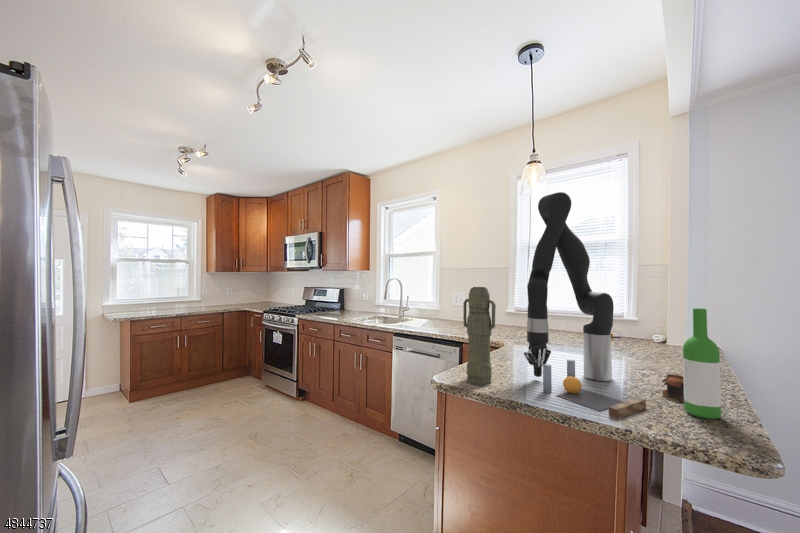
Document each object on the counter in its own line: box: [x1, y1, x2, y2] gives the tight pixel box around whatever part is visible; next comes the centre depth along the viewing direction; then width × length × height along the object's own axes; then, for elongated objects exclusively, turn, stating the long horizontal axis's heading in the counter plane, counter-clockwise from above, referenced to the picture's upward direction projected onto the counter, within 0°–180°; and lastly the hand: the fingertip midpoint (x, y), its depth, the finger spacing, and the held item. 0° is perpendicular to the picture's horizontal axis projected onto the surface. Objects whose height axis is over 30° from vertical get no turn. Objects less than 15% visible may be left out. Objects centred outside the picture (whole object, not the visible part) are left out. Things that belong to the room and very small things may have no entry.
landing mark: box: [556, 388, 624, 412], centre depth 104 cm, size 14×14×1 cm
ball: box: [562, 376, 582, 394], centre depth 109 cm, size 6×6×6 cm
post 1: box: [542, 363, 552, 394], centre depth 111 cm, size 3×3×9 cm
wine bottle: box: [682, 308, 722, 420], centre depth 93 cm, size 8×8×30 cm
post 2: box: [566, 359, 576, 378], centre depth 117 cm, size 3×3×9 cm
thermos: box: [463, 286, 497, 387], centre depth 121 cm, size 9×12×35 cm
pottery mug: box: [662, 374, 684, 403], centre depth 105 cm, size 12×10×8 cm
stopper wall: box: [608, 397, 647, 420], centre depth 94 cm, size 16×2×2 cm, turn 119°
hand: (537, 376), depth 123 cm, fingers closed
